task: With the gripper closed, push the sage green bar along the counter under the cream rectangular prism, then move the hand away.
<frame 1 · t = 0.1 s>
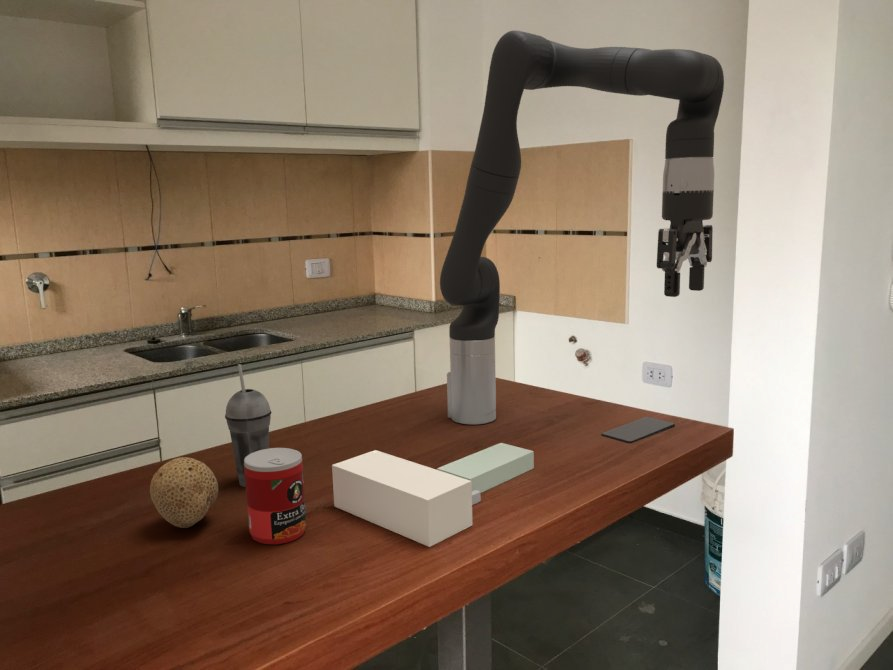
hand: (684, 293, 115), 29 cm above the kitchen island, fingers open, 8 cm apart
natural sponge: (188, 526, 104), on the kitchen island
smartphone: (638, 433, 141), on the kitchen island
cream rectangular prism: (421, 506, 108), on the kitchen island
canned food: (278, 534, 101), on the kitchen island
sage green bar: (487, 477, 119), on the kitchen island
beverage cup: (253, 483, 119), on the kitchen island
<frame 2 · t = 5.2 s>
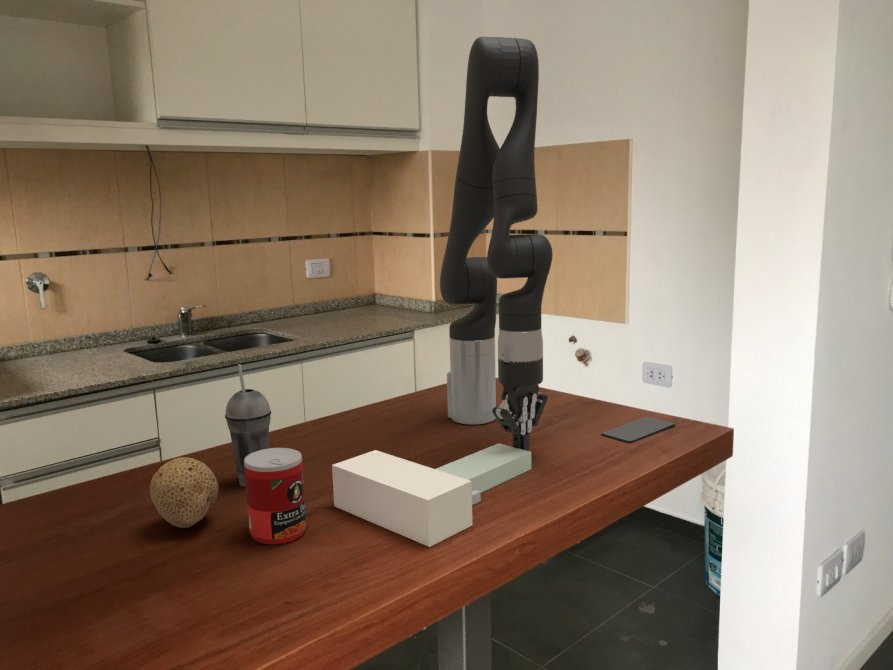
hand: (521, 453, 125), 2 cm above the kitchen island, fingers closed
sage green bar: (484, 477, 118), on the kitchen island, touching gripper
everything else where it was.
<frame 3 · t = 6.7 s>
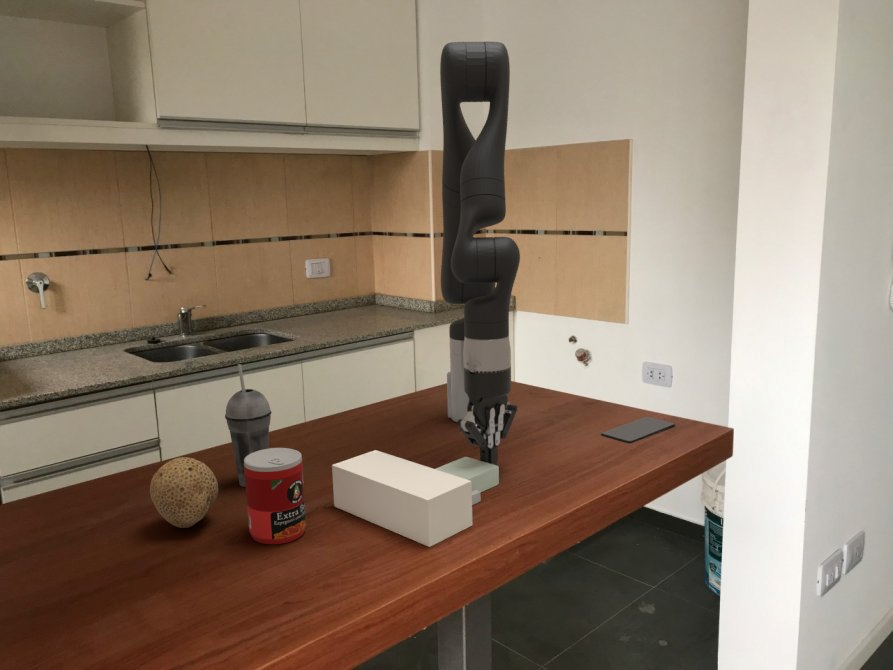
hand: (489, 467, 119), 2 cm above the kitchen island, fingers closed
sage green bar: (448, 493, 112), on the kitchen island, touching gripper
everything else where it was.
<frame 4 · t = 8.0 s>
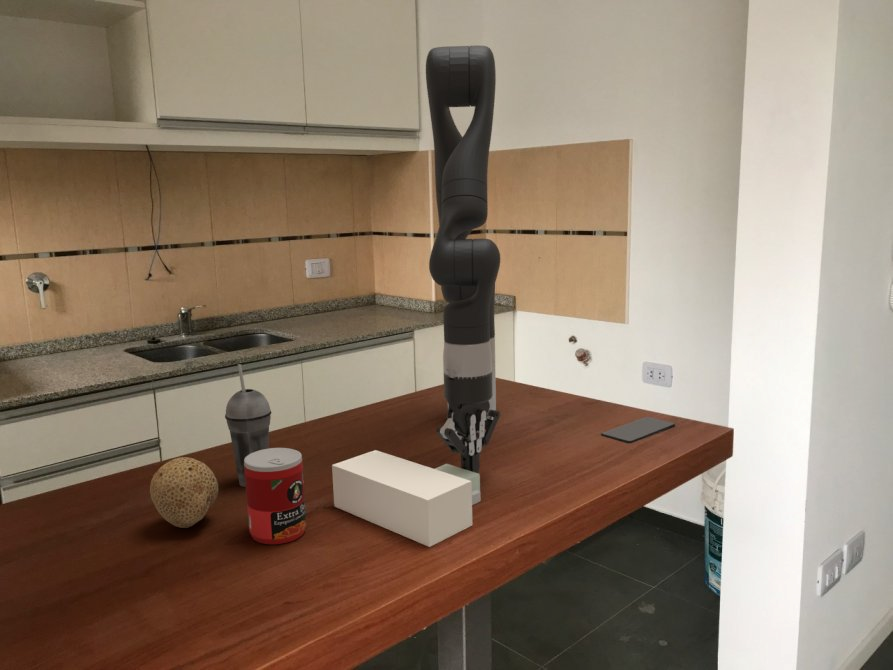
hand: (470, 474, 116), 2 cm above the kitchen island, fingers closed
sage green bar: (427, 502, 109), on the kitchen island, touching gripper
everything else where it was.
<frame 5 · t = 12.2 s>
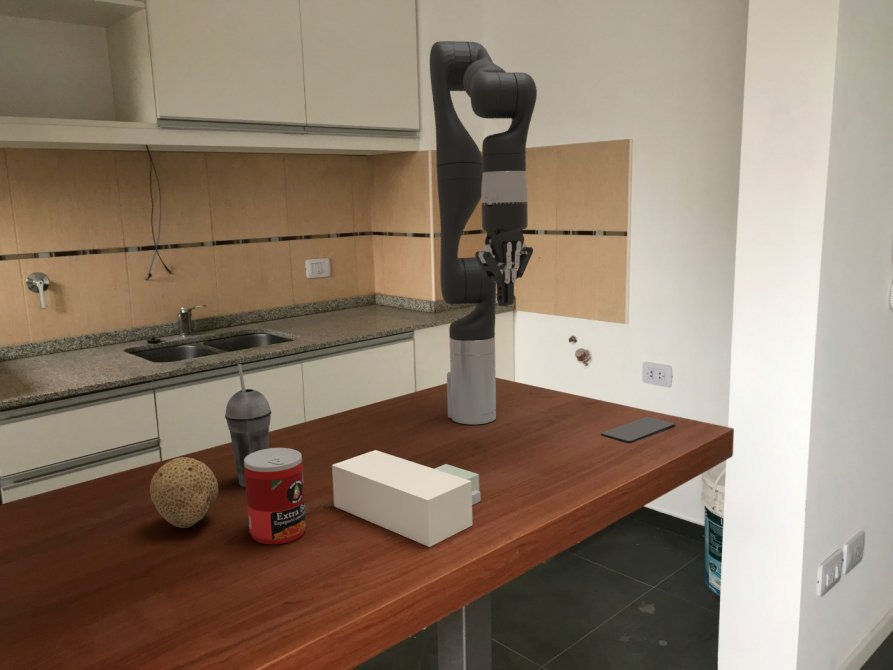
hand: (505, 305, 122), 27 cm above the kitchen island, fingers closed
sage green bar: (426, 502, 109), on the kitchen island
everything else where it was.
at the end: sage green bar 0.6 cm off-centre on the cream rectangular prism, point 0.0 cm above the cream rectangular prism's base; sage green bar tilted 0°; sage green bar moved 13.7 cm from its start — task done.
